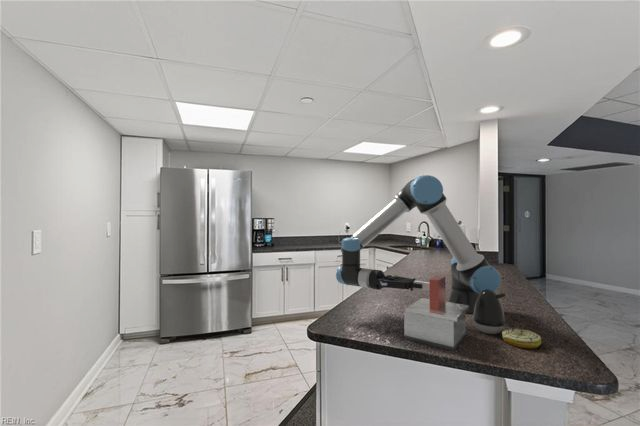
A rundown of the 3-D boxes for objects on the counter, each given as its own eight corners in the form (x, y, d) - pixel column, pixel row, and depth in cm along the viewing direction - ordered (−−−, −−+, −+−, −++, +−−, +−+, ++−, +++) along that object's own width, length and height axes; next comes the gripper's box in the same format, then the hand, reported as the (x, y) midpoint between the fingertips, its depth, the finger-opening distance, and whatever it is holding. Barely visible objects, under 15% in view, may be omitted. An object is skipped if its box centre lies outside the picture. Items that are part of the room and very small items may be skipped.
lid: (405, 311, 105) (405, 278, 105) (422, 301, 118) (422, 271, 118) (457, 321, 95) (456, 285, 95) (469, 308, 108) (468, 276, 108)
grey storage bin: (404, 338, 106) (404, 311, 106) (420, 324, 118) (420, 301, 118) (453, 350, 96) (453, 321, 96) (465, 334, 108) (465, 309, 109)
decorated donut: (507, 334, 109) (507, 324, 109) (544, 343, 101) (544, 332, 101) (498, 343, 101) (497, 331, 102) (537, 353, 94) (537, 341, 94)
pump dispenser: (505, 339, 104) (505, 294, 104) (471, 333, 110) (471, 290, 110) (506, 330, 113) (505, 288, 113) (474, 324, 118) (474, 285, 118)
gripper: (379, 285, 127) (438, 294, 113) (364, 291, 117) (426, 302, 103) (379, 267, 127) (438, 273, 113) (363, 271, 117) (426, 279, 103)
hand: (432, 287), depth 108 cm, fingers closed
